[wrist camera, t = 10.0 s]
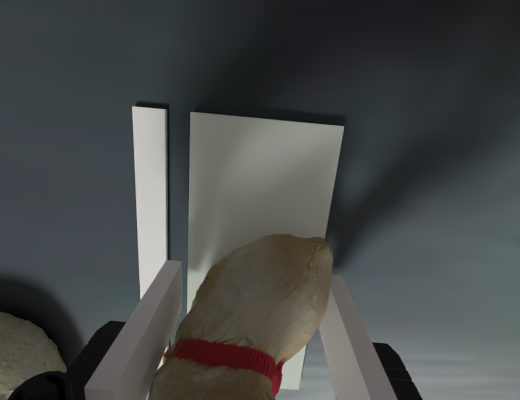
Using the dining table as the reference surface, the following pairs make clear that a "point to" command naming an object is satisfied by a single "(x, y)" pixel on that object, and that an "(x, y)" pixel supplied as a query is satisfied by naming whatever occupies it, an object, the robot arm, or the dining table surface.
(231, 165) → the mat
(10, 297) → the dining table surface
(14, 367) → the sea urchin shell
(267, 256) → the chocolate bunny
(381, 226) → the dining table surface
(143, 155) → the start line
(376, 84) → the dining table surface
